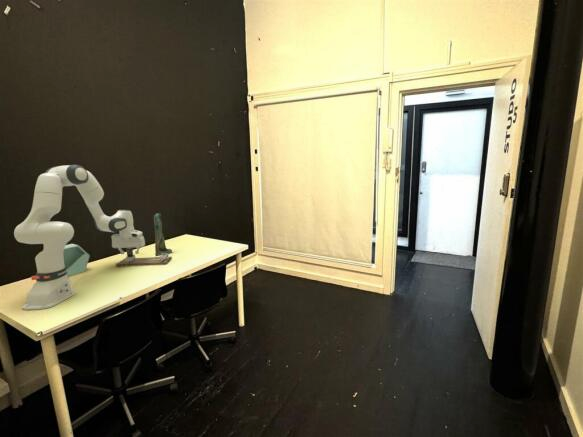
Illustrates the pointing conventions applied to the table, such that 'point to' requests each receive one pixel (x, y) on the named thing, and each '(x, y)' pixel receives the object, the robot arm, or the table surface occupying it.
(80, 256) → the planter
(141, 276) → the table surface
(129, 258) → the divider leg
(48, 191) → the robot arm
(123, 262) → the plate
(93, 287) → the table surface
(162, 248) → the statue
